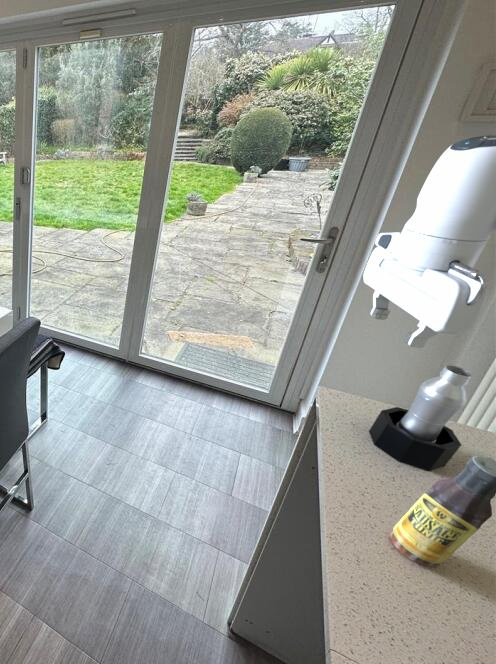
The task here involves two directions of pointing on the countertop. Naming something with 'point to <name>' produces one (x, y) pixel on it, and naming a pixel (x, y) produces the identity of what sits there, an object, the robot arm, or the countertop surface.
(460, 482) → the sauce bottle
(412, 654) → the countertop surface
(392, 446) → the bowl
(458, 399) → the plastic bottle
